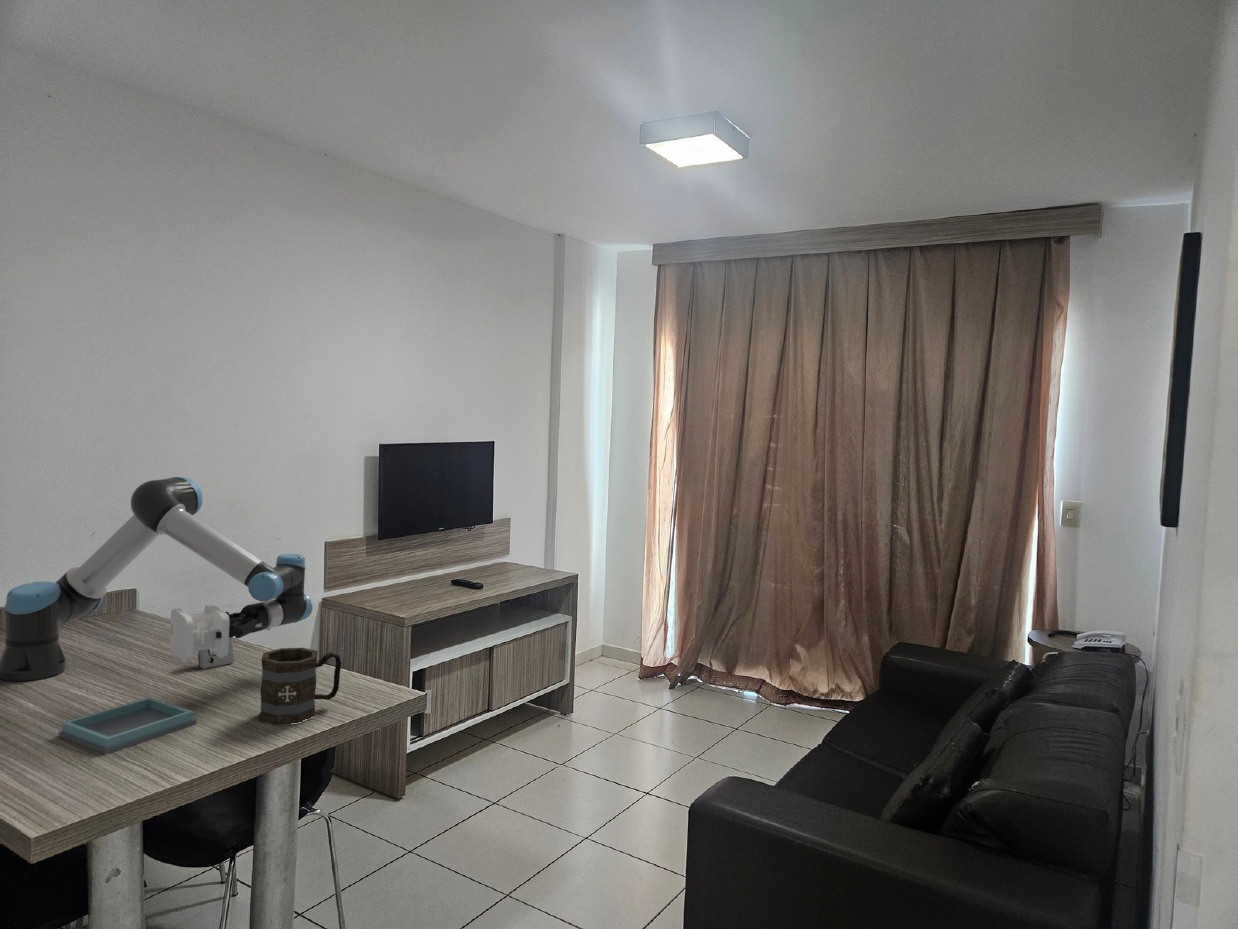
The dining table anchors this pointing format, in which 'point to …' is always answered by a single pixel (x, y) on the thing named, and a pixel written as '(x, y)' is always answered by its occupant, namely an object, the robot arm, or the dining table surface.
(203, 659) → the electrical switch
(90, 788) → the dining table surface
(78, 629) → the dining table surface
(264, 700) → the mug
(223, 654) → the white spool piece
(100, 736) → the teal tray
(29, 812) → the dining table surface
